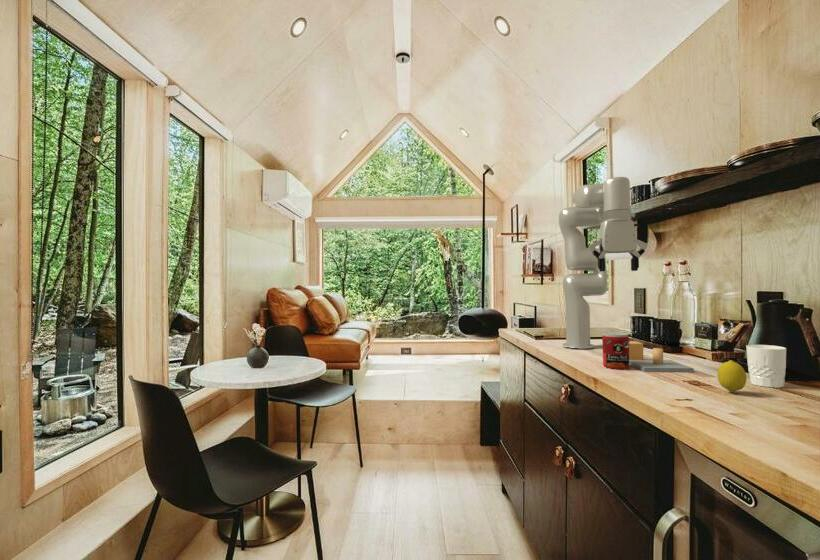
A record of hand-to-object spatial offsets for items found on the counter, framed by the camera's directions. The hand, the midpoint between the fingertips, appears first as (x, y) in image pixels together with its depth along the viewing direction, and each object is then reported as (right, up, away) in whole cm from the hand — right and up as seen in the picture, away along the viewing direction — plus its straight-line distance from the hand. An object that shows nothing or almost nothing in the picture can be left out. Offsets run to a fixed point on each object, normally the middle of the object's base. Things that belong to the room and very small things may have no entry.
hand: (618, 271), depth 126 cm
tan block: (+11, -31, +13) cm, 36 cm away
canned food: (+1, -32, +3) cm, 32 cm away
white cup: (+28, -31, -21) cm, 47 cm away
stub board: (+14, -31, +2) cm, 34 cm away
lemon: (+13, -31, -28) cm, 44 cm away
